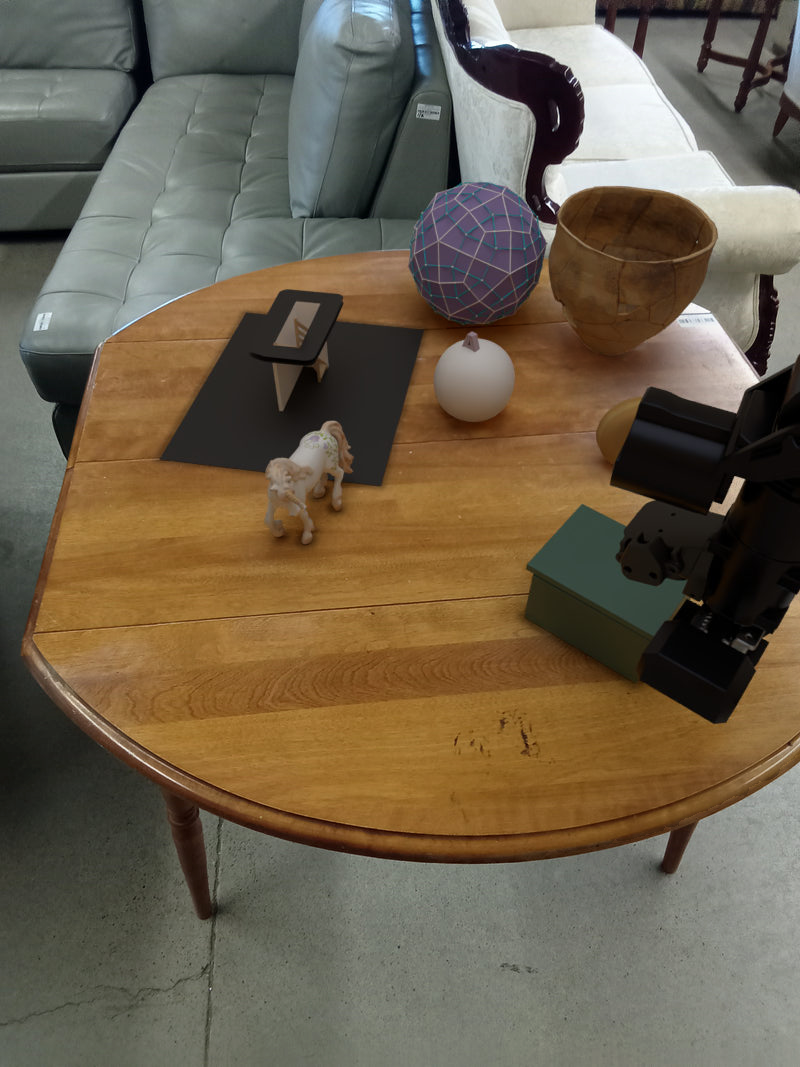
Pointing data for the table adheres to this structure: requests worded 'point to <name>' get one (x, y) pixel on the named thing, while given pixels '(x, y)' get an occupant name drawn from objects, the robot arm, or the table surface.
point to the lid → (604, 573)
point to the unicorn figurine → (307, 476)
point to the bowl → (627, 263)
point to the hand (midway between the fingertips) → (702, 667)
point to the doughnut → (616, 428)
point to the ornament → (474, 379)
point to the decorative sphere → (476, 253)
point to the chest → (586, 627)
